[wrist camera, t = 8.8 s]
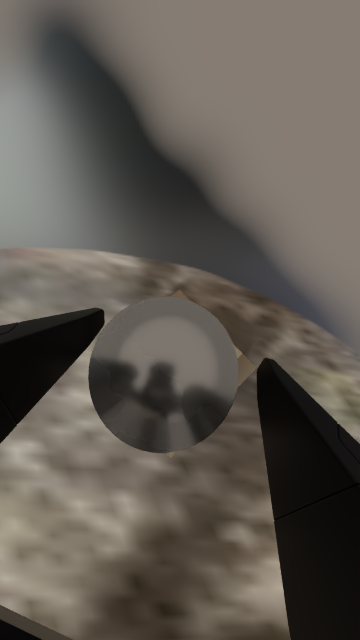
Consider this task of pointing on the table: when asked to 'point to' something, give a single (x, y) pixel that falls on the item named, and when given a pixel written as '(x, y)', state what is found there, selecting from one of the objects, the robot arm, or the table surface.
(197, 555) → the table surface
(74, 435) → the table surface
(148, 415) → the silver metal cylinder
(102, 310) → the robot arm
